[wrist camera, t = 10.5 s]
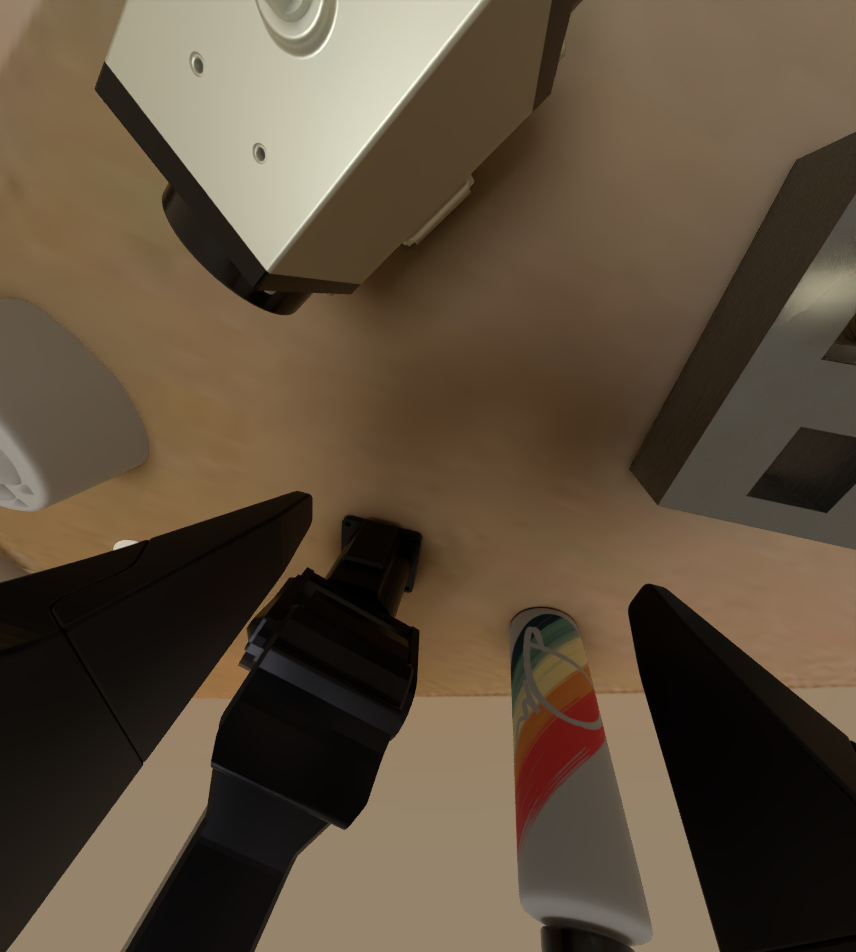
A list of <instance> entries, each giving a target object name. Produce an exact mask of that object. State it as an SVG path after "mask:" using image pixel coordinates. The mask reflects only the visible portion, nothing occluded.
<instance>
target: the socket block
mask: <svg viewBox="0 0 856 952" xmlns="http://www.w3.org/2000/svg"><path fill="white" fill-rule="evenodd" d="M855 313H856V132H855V133H852V134H850V135H848V136H846V137H844V138H842V139H840V140H838V141H836V142H833V143H831V144H829V145H827V146H825V147H823V148H821V149H819V150H817V151H814V152H812V153H810V154H808V155H806V156H804V157H802V158H800V159H798V160H796V162H795V164H794V166H793V168H792V170H791V172H790V173H789V175H788V177H787V179H786V181H785V183H784V185H783V186H782V188H781V190H780V192H779V194H778V196H777V197H776V199H775V201H774V203H773V205H772V207H771V209H770V210H769V212H768V214H767V216H766V218H765V220H764V222H763V223H762V225H761V227H760V229H759V231H758V233H757V234H756V236H755V238H754V240H753V242H752V244H751V246H750V247H749V249H748V251H747V253H746V255H745V257H744V259H743V260H742V262H741V264H740V266H739V268H738V270H737V271H736V273H735V275H734V277H733V279H732V281H731V283H730V284H729V286H728V288H727V290H726V292H725V294H724V296H723V297H722V299H721V301H720V303H719V305H718V307H717V309H716V310H715V312H714V314H713V316H712V318H711V320H710V321H709V323H708V325H707V327H706V329H705V331H704V333H703V334H702V336H701V338H700V340H699V342H698V344H697V346H696V347H695V349H694V351H693V353H692V355H691V357H690V358H689V360H688V362H687V364H686V366H685V368H684V370H683V371H682V373H681V375H680V377H679V379H678V381H677V383H676V384H675V386H674V388H673V390H672V392H671V394H670V395H669V397H668V399H667V401H666V403H665V405H664V407H663V408H662V410H661V412H660V414H659V416H658V418H657V420H656V421H655V423H654V425H653V427H652V429H651V431H650V432H649V434H648V436H647V438H646V440H645V442H644V444H643V445H642V447H641V449H640V451H639V453H638V455H637V457H636V458H635V460H634V462H633V464H632V466H631V468H630V471H631V472H632V473H633V475H634V476H635V477H636V478H637V480H638V481H639V482H640V484H641V485H642V486H643V487H644V489H645V490H646V491H647V492H648V494H649V495H650V496H651V498H652V499H653V500H654V501H655V503H656V504H657V505H658V506H662V507H666V508H671V509H675V510H680V511H684V512H688V513H693V514H697V515H702V516H706V517H711V518H715V519H720V520H724V521H729V522H733V523H738V524H742V525H747V526H751V527H756V528H760V529H765V530H769V531H774V532H778V533H783V534H787V535H792V536H796V537H801V538H805V539H810V540H814V541H819V542H823V543H828V544H832V545H837V546H841V547H846V548H850V549H855V550H856V365H852V364H847V363H841V362H835V361H829V360H824V359H822V358H823V356H824V355H825V354H826V352H827V351H828V349H829V348H830V347H831V345H832V344H833V343H834V341H835V340H836V339H837V337H838V336H839V335H840V333H841V332H842V331H843V329H844V328H845V327H846V325H847V324H848V323H849V321H850V320H851V318H852V317H853V316H854V314H855Z"/></svg>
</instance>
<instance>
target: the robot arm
mask: <svg viewBox="0 0 856 952" xmlns="http://www.w3.org/2000/svg"><path fill="white" fill-rule="evenodd" d="M348 522H350V523H351V524H350V523H348ZM311 523H312V496H311V495H310V494H308V493H304V492H300V491H294V492H291V493H288V494H285V495H282V496H279V497H276V498H273V499H270V500H267V501H264V502H261V503H258V504H255V505H252V506H248V507H245V508H242V509H239V510H236V511H233V512H230V513H227V514H224V515H221V516H218V517H215V518H212V519H209V520H206V521H203V522H199V523H196V524H193V525H190V526H187V527H184V528H181V529H178V530H175V531H172V532H169V533H166V534H163V535H160V536H157V537H153V538H151V539H150V540H144V541H141V542H138V543H135V544H132V545H129V546H126V547H123V548H119V549H116V550H113V551H110V552H107V553H103V554H100V555H97V556H94V557H90V558H87V559H83V560H80V561H76V562H73V563H69V564H66V565H62V566H59V567H55V568H52V569H48V570H44V571H41V572H37V573H33V574H30V575H26V576H22V577H19V578H15V579H11V580H8V581H4V582H1V583H0V952H6V951H7V949H8V948H9V947H10V946H11V944H12V943H13V942H14V941H15V939H16V938H17V937H18V935H19V934H20V933H21V931H22V930H23V929H24V927H25V926H26V924H27V923H28V922H29V920H30V919H31V917H32V916H33V915H34V913H35V912H36V911H37V909H38V908H39V907H40V905H41V904H42V903H43V901H44V900H45V898H46V897H47V896H48V894H49V893H50V891H51V890H52V889H53V887H54V886H55V885H56V883H57V882H58V881H59V879H60V878H61V877H62V875H63V874H64V873H65V871H66V870H67V868H68V867H69V866H70V864H71V863H72V861H73V860H74V859H75V857H76V856H77V855H78V853H79V852H80V851H81V849H82V848H83V847H84V845H85V844H86V842H87V841H88V840H89V838H90V837H91V835H92V834H93V833H94V832H95V830H96V829H97V827H98V826H99V825H100V823H101V822H102V820H103V819H104V818H105V816H106V815H107V814H108V812H109V811H110V810H111V808H112V807H113V805H114V804H115V803H116V801H117V800H118V799H119V797H120V796H121V795H122V793H123V792H124V790H125V789H126V788H127V786H128V785H129V784H130V782H131V781H132V780H133V778H134V777H135V775H136V774H137V773H138V771H139V770H140V769H141V767H142V766H143V762H145V761H146V760H147V759H148V757H149V756H150V754H151V753H152V752H153V750H154V749H155V748H156V746H157V745H158V744H159V742H160V741H161V739H162V738H163V737H164V735H165V734H166V733H167V731H168V730H169V729H170V727H171V726H172V724H173V723H174V722H175V720H176V719H177V717H178V716H179V715H180V713H181V712H182V711H183V709H184V708H185V707H186V705H187V704H188V703H189V701H190V700H191V698H192V697H193V696H194V694H195V693H196V692H197V690H198V689H199V688H200V686H201V685H202V683H203V682H204V681H205V679H206V678H207V677H208V675H209V674H210V672H211V671H212V670H213V668H214V667H215V666H216V664H217V663H218V662H219V660H220V659H221V657H222V656H223V655H224V653H225V652H226V651H227V649H228V648H229V647H230V645H231V644H232V642H233V641H234V640H235V638H236V637H237V636H238V634H239V633H240V631H241V630H242V629H243V627H244V626H245V625H246V623H247V622H248V621H249V619H250V618H251V616H252V615H253V614H254V612H255V611H256V610H257V608H258V607H259V605H260V604H261V603H262V601H263V600H264V599H265V597H266V596H267V595H268V593H269V592H270V590H271V589H272V588H273V586H274V585H275V584H276V582H277V581H278V579H279V578H280V577H281V575H282V574H283V572H284V571H285V569H286V567H287V566H288V564H289V562H290V561H291V559H292V557H293V555H294V554H295V552H296V550H297V548H298V547H299V545H300V543H301V541H302V540H303V538H304V536H305V534H306V533H307V531H308V529H309V527H310V525H311ZM413 538H416V539H417V540H414V539H413ZM421 542H422V536H421V535H420V534H419V533H416V532H412V531H408V530H404V529H400V528H396V527H392V526H388V525H384V524H380V523H375V522H371V521H367V520H363V519H359V518H355V517H351V516H346V517H345V518H344V519H343V521H342V549H341V553H340V555H339V557H338V558H337V560H336V561H335V563H334V565H333V566H332V568H331V569H330V571H329V572H328V574H327V576H326V577H325V578H323V577H321V576H319V575H318V574H316V573H314V571H313V570H312V569H310V568H308V567H307V568H306V570H305V571H304V572H303V573H302V575H301V576H300V575H299V574H298V575H297V576H296V577H295V578H289V579H288V580H287V582H286V583H285V584H284V586H283V587H282V588H281V589H280V591H279V592H278V593H277V595H276V596H275V597H274V598H273V599H272V600H271V601H270V602H269V603H268V604H267V605H266V606H265V607H264V608H263V609H262V610H261V611H260V612H259V613H258V614H257V615H256V616H255V617H254V619H253V620H252V621H251V622H250V624H249V625H248V627H247V634H248V643H247V645H246V647H245V649H244V650H246V652H245V654H244V655H243V657H242V659H241V661H240V662H239V665H238V666H240V667H242V668H244V669H246V670H248V671H250V672H249V674H248V676H247V677H246V679H245V680H244V682H243V683H242V685H241V686H240V688H239V689H238V691H237V693H236V694H235V696H234V697H233V699H232V700H231V702H230V704H229V705H228V707H227V708H226V710H225V711H224V713H223V715H222V717H221V720H220V723H219V729H218V732H217V736H216V740H215V745H214V750H213V754H212V759H211V767H212V768H213V770H212V778H211V784H210V792H209V798H208V805H207V807H206V808H205V810H204V812H203V813H202V815H201V817H200V818H199V820H198V822H197V824H196V825H195V827H194V829H193V830H192V832H191V834H190V835H189V837H188V839H187V840H186V842H185V844H184V846H183V847H182V849H181V850H180V852H179V854H178V856H177V857H176V859H175V861H174V862H173V864H172V866H171V867H170V869H169V871H168V873H167V874H166V876H165V877H164V879H163V881H162V883H161V884H160V886H159V888H158V889H157V891H156V893H155V894H154V896H153V898H152V899H151V901H150V903H149V904H148V906H147V908H146V910H145V911H144V913H143V915H142V916H141V918H140V920H139V921H138V923H137V925H136V926H135V928H134V930H133V931H132V933H131V935H130V937H129V938H128V940H127V942H126V943H125V945H124V947H123V948H122V950H121V952H254V951H255V949H256V947H257V944H258V942H259V940H260V938H261V935H262V933H263V931H264V928H265V926H266V924H267V922H268V919H269V917H270V915H271V913H272V910H273V908H274V905H275V903H276V901H277V899H278V897H279V895H280V892H281V890H282V888H283V886H284V883H285V881H286V879H287V876H288V874H289V872H290V870H291V868H292V866H293V864H294V862H295V860H296V858H297V856H298V855H299V854H300V853H301V852H302V851H303V850H304V849H305V848H306V847H307V846H308V845H309V844H310V843H311V842H312V841H314V840H315V838H317V837H318V836H319V835H320V834H321V833H322V832H323V831H324V830H325V829H326V828H327V827H328V826H329V825H330V824H333V825H335V826H337V827H339V828H341V829H344V830H345V829H347V828H348V827H349V826H350V825H351V824H352V822H353V821H354V820H355V818H356V817H357V816H358V815H359V814H360V812H361V811H362V810H363V809H364V807H365V806H366V804H367V802H368V799H369V796H370V793H371V790H372V787H373V784H374V781H375V778H376V775H377V772H378V769H379V766H380V763H381V761H382V758H383V755H384V752H385V750H386V748H387V745H388V743H389V741H391V740H392V739H393V738H394V737H395V736H396V734H397V733H398V732H399V730H400V729H401V727H402V725H403V723H404V721H405V719H406V717H407V715H408V713H409V710H410V707H411V705H412V702H413V698H414V695H415V690H416V685H417V672H418V651H419V630H418V629H417V628H415V627H413V626H412V627H410V626H408V625H407V624H405V623H403V622H401V621H399V620H398V619H396V618H395V616H396V613H397V610H398V607H399V604H400V601H401V598H402V595H403V592H408V593H409V592H411V591H412V589H413V586H414V580H415V575H416V569H417V564H418V558H419V553H420V547H421ZM628 615H629V621H630V626H631V632H632V637H633V642H634V648H635V653H636V659H637V664H638V669H639V673H640V677H641V681H642V685H643V688H644V692H645V695H646V699H647V702H648V705H649V709H650V712H651V716H652V719H653V723H654V726H655V730H656V733H657V737H658V740H659V743H660V747H661V750H662V754H663V757H664V761H665V764H666V768H667V771H668V775H669V778H670V781H671V785H672V788H673V792H674V795H675V799H676V802H677V806H678V809H679V813H680V816H681V819H682V823H683V826H684V830H685V833H686V836H687V840H688V844H689V847H690V851H691V853H692V857H693V861H694V864H695V868H696V871H697V875H698V878H699V882H700V885H701V888H702V892H703V895H704V898H705V902H706V906H707V909H708V913H709V916H710V920H711V923H712V926H713V930H714V933H715V937H716V940H717V944H718V947H719V951H720V952H856V743H855V742H853V741H850V740H849V738H848V737H847V736H846V735H845V734H844V733H843V732H842V731H840V730H839V729H838V728H836V727H835V726H834V725H833V724H832V723H830V722H829V721H828V720H827V719H826V718H824V717H823V716H822V715H821V714H819V713H818V712H817V711H816V710H814V709H813V708H812V707H811V706H810V705H808V704H807V703H806V702H805V701H804V700H802V699H801V698H800V697H799V696H797V695H796V694H795V693H794V692H792V691H791V690H790V689H789V688H788V687H786V686H785V685H784V684H783V683H781V682H780V681H779V680H778V679H777V678H775V677H774V676H773V675H772V674H770V673H769V672H768V671H767V670H766V669H764V668H763V667H762V666H761V665H759V664H758V663H757V662H756V661H754V660H753V659H752V658H751V657H750V656H748V655H747V654H746V653H745V652H743V651H742V650H741V649H740V648H739V647H737V646H736V645H735V644H734V643H732V642H731V641H730V640H729V639H728V638H726V637H725V636H724V635H723V634H721V633H720V632H719V631H718V630H716V629H715V628H714V627H713V626H712V625H710V624H709V623H708V622H707V621H705V620H704V619H703V618H702V617H701V616H699V615H698V614H697V613H696V612H694V611H693V610H692V609H691V608H690V607H688V606H687V605H686V604H685V603H683V602H682V601H681V600H680V599H678V598H677V597H676V596H675V595H674V594H672V593H671V592H670V591H669V590H667V589H666V588H664V587H661V586H657V585H653V584H645V585H644V586H643V587H642V588H641V589H640V591H639V592H638V593H637V595H636V596H635V597H634V599H633V600H632V601H631V603H630V605H629V608H628Z"/></svg>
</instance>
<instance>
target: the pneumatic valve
mask: <svg viewBox="0 0 856 952" xmlns="http://www.w3.org/2000/svg"><path fill="white" fill-rule="evenodd" d="M582 1H583V0H126V2H125V5H124V8H123V10H122V13H121V16H120V19H119V22H118V24H117V27H116V30H115V33H114V36H113V38H112V41H111V44H110V47H109V50H108V52H107V55H106V58H105V61H104V63H103V66H102V69H101V72H100V75H99V77H98V80H97V83H96V86H95V91H96V92H97V93H98V94H99V96H100V97H101V98H102V99H103V101H104V102H105V103H106V104H107V106H108V107H109V108H110V109H111V111H112V112H113V113H114V114H115V116H116V117H117V118H118V119H119V121H120V122H121V123H122V124H123V126H124V127H125V128H126V129H127V131H128V132H129V133H130V134H131V136H132V137H133V138H134V139H135V141H136V142H137V143H138V144H139V146H140V147H141V148H142V149H143V151H144V152H145V153H146V154H147V156H148V157H149V158H150V159H151V161H152V162H153V163H154V164H155V166H156V167H157V168H158V169H159V171H160V172H161V173H162V174H163V176H164V177H165V178H166V179H167V181H168V182H169V183H168V185H167V187H166V188H165V190H164V192H163V195H162V206H163V210H164V212H165V215H166V217H167V219H168V222H169V223H170V225H171V227H172V228H173V230H174V232H175V233H176V235H177V236H178V238H179V239H180V241H181V242H182V243H183V244H184V246H185V247H186V248H187V249H188V251H189V252H190V253H191V254H192V255H193V256H194V257H195V258H196V259H197V261H198V262H199V263H200V264H201V265H202V266H203V267H204V268H205V269H206V270H207V271H209V272H210V273H211V274H212V275H213V276H214V277H215V278H216V279H217V280H219V281H220V282H221V283H222V284H224V285H225V286H226V287H227V288H229V289H230V290H231V291H233V292H234V293H235V294H237V295H238V296H240V297H241V298H243V299H244V300H246V301H248V302H249V303H251V304H253V305H255V306H257V307H259V308H261V309H263V310H265V311H268V312H271V313H274V314H278V315H290V314H293V313H295V312H296V311H297V310H298V309H299V308H300V307H301V306H302V305H303V303H304V302H305V301H306V300H307V299H308V298H309V297H310V296H311V295H312V294H313V293H327V294H328V295H330V296H333V295H334V294H352V293H353V292H354V291H355V290H356V289H357V288H358V287H359V286H360V285H361V284H362V283H363V282H364V281H365V280H366V279H367V278H368V277H369V276H370V275H371V274H372V273H373V272H374V271H375V270H376V269H377V268H378V267H379V266H380V265H381V264H382V263H383V262H384V261H385V260H386V259H387V258H388V257H389V256H390V255H391V254H392V253H393V252H394V251H395V250H396V249H397V248H398V247H399V246H400V245H401V244H402V243H403V244H404V245H405V246H406V245H408V246H409V247H410V246H411V245H412V244H413V243H416V244H417V245H418V244H419V243H420V242H421V241H422V240H423V239H424V238H425V237H426V236H427V235H428V234H429V233H430V232H431V231H432V230H433V229H434V228H435V227H436V226H437V225H438V224H439V223H440V222H441V221H443V220H444V219H445V218H446V217H447V216H448V215H449V214H450V213H451V212H452V211H453V210H454V209H455V208H456V207H457V206H458V205H459V204H460V203H461V202H462V201H463V200H464V199H465V198H466V197H467V196H468V195H469V194H470V193H471V192H470V188H471V186H472V185H473V184H474V180H473V177H472V175H471V173H472V172H473V171H474V170H475V169H476V168H477V167H478V166H479V165H480V164H481V163H482V162H483V161H484V160H485V159H486V158H487V157H488V156H489V155H490V154H491V153H492V152H493V151H494V150H495V149H496V148H497V147H498V146H499V145H500V144H501V143H502V142H503V141H504V140H505V139H506V138H507V137H508V136H509V135H510V134H511V133H512V132H513V131H514V130H515V129H516V128H517V127H518V126H519V125H520V124H521V123H522V122H523V121H524V120H525V119H526V118H527V117H528V116H529V115H530V114H531V113H532V112H533V111H534V110H535V109H536V108H537V107H538V106H539V105H540V104H541V103H542V102H543V101H544V100H545V99H546V98H547V97H548V96H549V95H550V94H551V90H552V86H553V82H554V78H555V74H556V70H557V66H558V62H559V61H560V60H561V59H562V58H563V57H564V55H565V51H566V48H565V41H564V38H565V34H566V30H567V26H568V22H569V18H570V14H571V12H572V11H573V10H574V9H575V8H576V7H577V6H578V5H579V4H580V3H581V2H582Z"/></svg>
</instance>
